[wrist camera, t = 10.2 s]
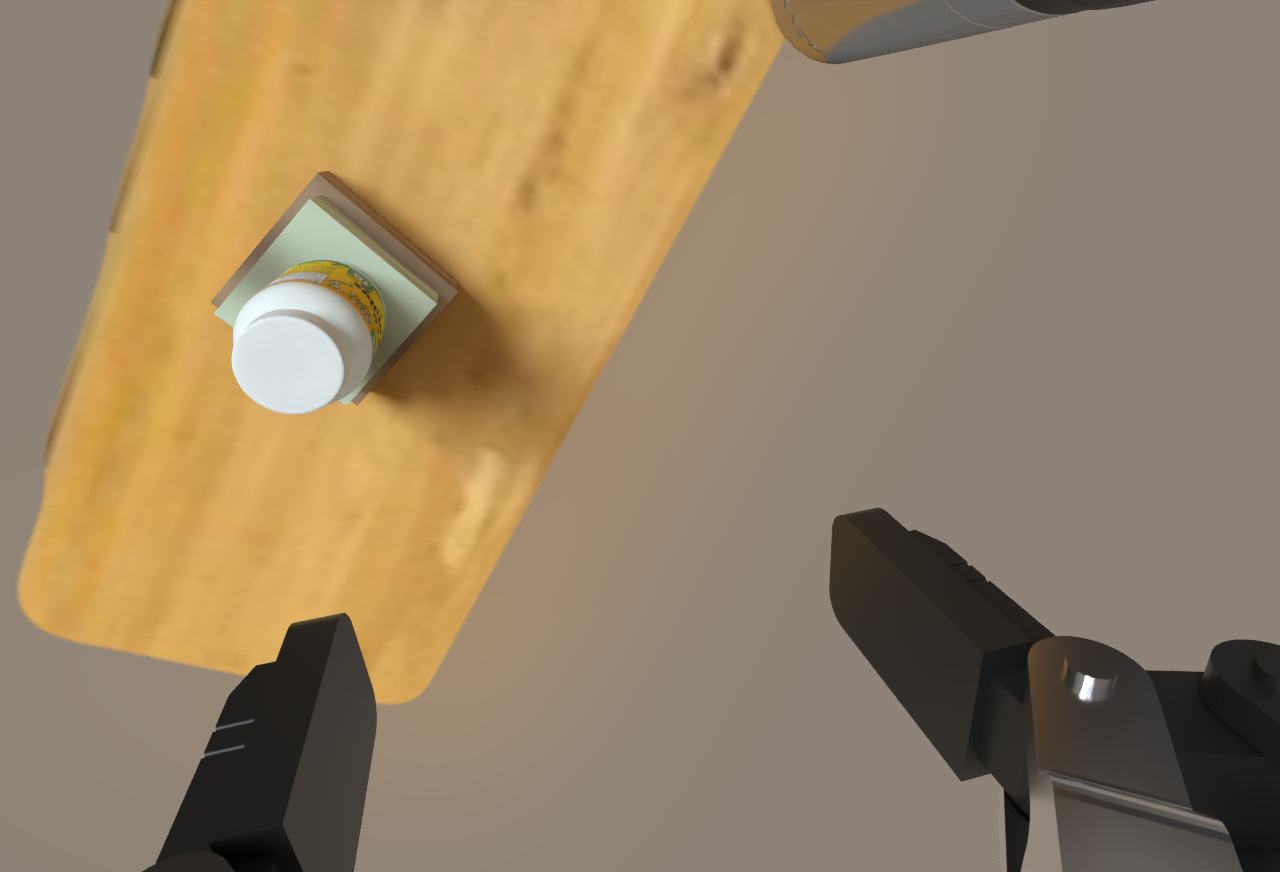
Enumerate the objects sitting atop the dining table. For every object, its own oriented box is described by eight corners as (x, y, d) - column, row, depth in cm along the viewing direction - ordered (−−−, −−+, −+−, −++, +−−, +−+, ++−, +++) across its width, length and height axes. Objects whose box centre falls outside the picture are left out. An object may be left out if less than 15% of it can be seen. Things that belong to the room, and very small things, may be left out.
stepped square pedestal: (328, 171, 37) (305, 175, 32) (458, 282, 41) (457, 303, 36) (228, 291, 38) (189, 314, 33) (364, 388, 42) (349, 424, 37)
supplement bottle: (260, 263, 33) (187, 304, 24) (374, 251, 34) (344, 287, 25) (291, 368, 35) (235, 440, 27) (398, 354, 36) (377, 419, 27)
